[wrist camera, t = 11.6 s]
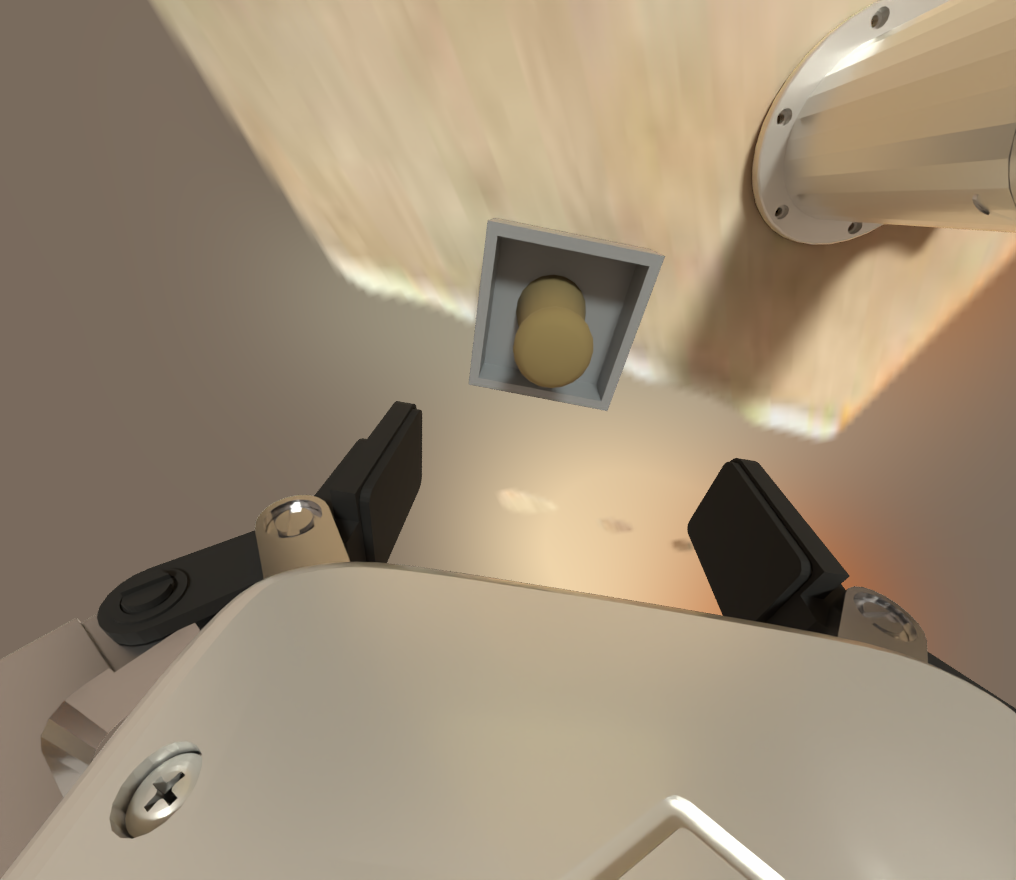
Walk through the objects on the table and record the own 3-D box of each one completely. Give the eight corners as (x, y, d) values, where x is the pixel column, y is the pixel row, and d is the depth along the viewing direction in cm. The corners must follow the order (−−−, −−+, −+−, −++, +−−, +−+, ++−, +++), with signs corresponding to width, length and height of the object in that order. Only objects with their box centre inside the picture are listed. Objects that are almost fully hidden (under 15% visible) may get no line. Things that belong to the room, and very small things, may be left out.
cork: (527, 353, 34) (520, 411, 24) (506, 287, 30) (490, 324, 21) (592, 335, 32) (611, 389, 23) (577, 264, 29) (593, 293, 20)
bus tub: (649, 249, 29) (664, 256, 25) (600, 389, 36) (607, 410, 32) (495, 217, 29) (487, 220, 25) (476, 365, 36) (468, 384, 32)
